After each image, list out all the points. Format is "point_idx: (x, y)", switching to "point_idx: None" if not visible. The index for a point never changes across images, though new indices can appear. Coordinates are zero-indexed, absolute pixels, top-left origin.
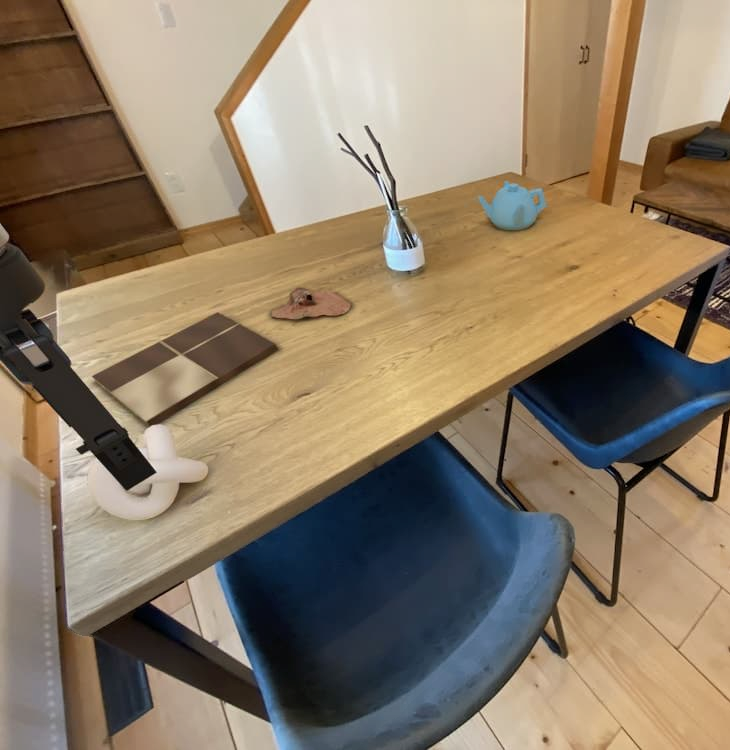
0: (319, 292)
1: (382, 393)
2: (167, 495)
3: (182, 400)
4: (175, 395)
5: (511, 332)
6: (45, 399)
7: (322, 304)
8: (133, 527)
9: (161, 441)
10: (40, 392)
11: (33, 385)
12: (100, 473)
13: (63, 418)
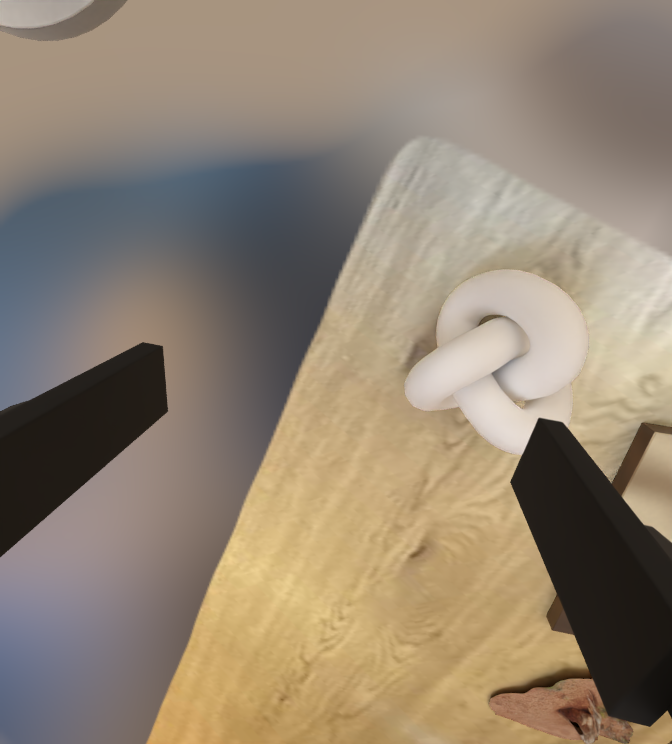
0: (577, 733)
1: (306, 582)
2: (439, 339)
3: (623, 489)
4: (648, 495)
5: (228, 699)
6: (608, 519)
7: (544, 712)
8: (472, 270)
9: (485, 427)
10: (629, 560)
11: (663, 610)
12: (543, 323)
13: (555, 444)
